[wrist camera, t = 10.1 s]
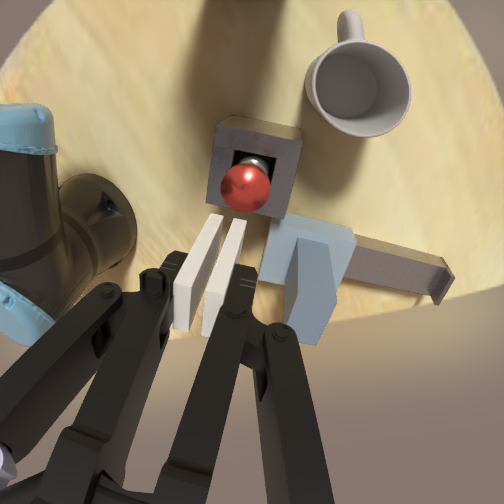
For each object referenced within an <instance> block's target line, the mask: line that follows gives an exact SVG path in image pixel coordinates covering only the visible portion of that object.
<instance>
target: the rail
mask: <svg viewBox="0 0 504 504" xmlns="http://www.w3.org/2000/svg"><path fill="white" fill-rule="evenodd" d="M271 219H272V217H271ZM270 225H271V221H270ZM270 225H269V229H270ZM268 233H269V230H268ZM354 235H355V238H356V242H357V244H356V247H355V249H354V252H353V254H352V256H351V259H350V261H349V264H348V266H347V269H346V271H345V273H344V276H343V277H344V278H349V279H354V280H358V281H363V282H368V283H372V284H377V285H382V286H386V287H391V288H396V289H400V290H405V291H410V292H414V293H419V294H424V295H429V296H431V298H432V300H433V302H434V305H439V304H440V303H441V301H442V299H443V298H444V296H445V295H446V293H447V291H448V290H449V288H450V286H451V284H452V283H453V281H454V279H455V276H454V275H453V273H452V272H451V270H450V268H449V267H448V265H447V264H446V262H445V261H444V259H443V258H442V257H438V256H435V255H431V254H428V253H424V252H420V251H417V250H413V249H409V248H406V247H402V246H398V245H394V244H391V243H387V242H383V241H379V240H375V239H371V238H368V237H364V236H360V235H356V234H354ZM267 238H268V234H267ZM267 238H266V242H267ZM266 242H265V246H266ZM265 246H264V250H265ZM263 254H264V252H263ZM262 259H263V258H262Z"/></svg>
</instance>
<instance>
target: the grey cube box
mask: <svg viewBox="0 0 504 504" xmlns="http://www.w3.org/2000/svg"><path fill="white" fill-rule="evenodd" d="M302 145H303V139H302V134H301V129H298V128H294V127H290V126H285V125H281V124H276V123H271V122H266V121H261V120H256V119H251V118H245V117H240V116H234V115H232V116H230V117H229V118H227V119H225V120H224V121H222V122H221V123H219V124H218V125H216V131H215V137H214V144H213V151H212V158H211V165H210V172H209V180H208V187H207V195H206V203H208V204H213V205H218V206H223V207H228V208H231V207H229V206H228V205H227V204H226V202H225V201H224V199H223V197H222V195H221V182H222V179H223V177H224V176H225V174H226V173H227V172H228V170H229V169H230V168H232V167H233V166H235V165H237V164H239V163H240V161H241V159H242V155H243V151H245V152H250V153H255V154H260V155H265V156H269V157H274V158H276V162H275V167H274V171H273V173H272V172H268V178H269V181H270V193H269V197H268V200H267V201H266V203H265V204H264V205H263V206H262V207H261V208H260V209H258V210H256V211H253V212H251V213H256V214H261V215H265V216H270V217H274V218H279V219H283V220H284V217H285V213H286V210H287V206H288V202H289V198H290V194H291V190H292V186H293V182H294V178H295V174H296V170H297V166H298V161H299V157H300V153H301V149H302Z"/></svg>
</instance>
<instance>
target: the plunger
mask: <svg viewBox="0 0 504 504" xmlns="http://www.w3.org/2000/svg"><path fill="white" fill-rule="evenodd" d="M270 164H271V159H270V157H269V156H265V155H260V154H255V153H250V152H246V153H245V154H244V156H243V158H242V159H241V161H240V163H239V164H237V165H235V166H233V167H232V168H230V169H229V170H228V172H227V173H226V174H225V176H224V177H223V179H222V182H221V195H222V197H223V199H224V201H225V202H226V204H227V205H228V206H229V207H231V208H232V209H234V210H236V211H239V212H253V211H256V210H258V209H260V208H261V207H262V206H263V205H264V204H265V203H266V201H267V200H268V197H269V193H270V181H269V178H268V172H269V168H270Z"/></svg>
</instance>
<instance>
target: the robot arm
mask: <svg viewBox="0 0 504 504" xmlns="http://www.w3.org/2000/svg"><path fill="white" fill-rule="evenodd" d="M57 152H58V147H57V145H56V144H55V133H54V120H53V115H52V113H51V111H50V110H49V109H48V108H47V107H45V106H43V105H41V104H33V103H14V104H0V332H1V333H3V334H4V335H5V336H7V337H8V338H10V339H11V340H13V341H15V342H16V343H18V344H21V345H23V346H26V347H30V348H29V349H28V350H27V351H26V352H25V353H24V354H23V355H22V356H21V357H20V358H19V359H18V360H17V361H16V362H15V363H14V364H13V365H12V366H11V367H10V368H9V369H8V370H7V371H6V372H5V373H4V374H3V375H2V376H1V377H0V504H205V503H206V499H207V495H208V491H209V487H210V483H211V479H212V475H213V471H214V467H215V463H216V459H217V455H218V451H219V446H220V443H221V439H222V434H223V430H224V426H225V422H226V418H227V414H228V410H229V406H230V401H231V398H232V393H233V389H234V385H235V381H236V377H237V372H238V368H239V364H240V363H241V364H243V365H245V366H247V367H249V368H251V369H253V378H254V388H255V397H256V406H257V414H258V423H259V433H260V442H261V451H262V460H263V468H264V476H265V486H266V493H267V502H268V504H335V503H334V498H333V493H332V488H331V483H330V479H329V474H328V469H327V464H326V460H325V455H324V451H323V446H322V441H321V438H320V432H319V428H318V423H317V419H316V415H315V410H314V406H313V401H312V397H311V393H310V388H309V384H308V380H307V376H306V371H305V367H304V364H303V359H302V355H301V351H300V346H299V342H298V338H297V335H296V332H295V330H293V329H292V328H291V327H290V326H288V325H286V324H283V323H272V324H270V325H268V326H267V325H265V324H263V323H261V322H260V321H258V320H257V319H256V318H255V317H254V315H253V313H252V304H253V298H254V293H255V287H256V282H257V276H258V274H257V272H256V269H255V268H254V267H250V266H245V265H240V264H238V263H239V260H240V255H241V249H242V244H243V239H244V234H245V229H246V223H247V221H245V220H241V219H236V218H234V219H233V222H232V224H231V227H230V229H229V232H228V234H227V237H226V239H225V242H224V244H223V247H222V250H221V252H220V255H219V257H218V252H219V245H220V238H221V231H222V225H223V218H224V216H222V215H217V214H212V213H211V214H210V216H209V218H208V219H207V221H206V223H205V225H204V227H203V228H202V230H201V232H200V234H199V236H198V238H197V239H196V241H195V243H194V245H193V247H192V249H191V250H190V252H189V254H188V253H184V252H179V251H173V252H172V253H170V254H169V255H167V257H166V259H165V260H164V262H163V263H162V265H161V267H160V268H159V269H157V268H151V269H146V270H144V271H142V272H141V273H140V274H139V277H140V291H138V292H122V290H121V288H120V286H118V285H117V284H115V283H111V282H105V283H102V284H99V285H98V286H96V287H95V288H94V289H93V290H91V291H90V292H89V293H88V294H87V295H86V296H85V297H84V298H82V299H81V300H80V301H79V302H78V303H77V304H76V305H75V306H73V304H74V303H75V302H76V300H77V299H78V298H79V296H80V295H81V294H82V292H83V291H84V290H85V288H86V287H87V286H88V284H89V283H90V282H91V281H92V279H93V278H94V277H95V276H97V275H99V274H101V273H103V272H104V271H106V270H107V269H110V268H113V267H115V266H116V265H118V264H119V263H121V262H122V261H123V260H124V259H125V258H126V256H127V255H128V254H129V253H130V251H131V250H132V248H133V246H134V244H135V240H136V235H137V226H136V220H135V216H134V213H133V210H132V208H131V206H130V204H129V202H128V200H127V199H126V197H125V196H124V194H123V193H122V192H121V191H120V190H119V189H118V188H117V187H116V186H115V185H114V184H113V183H111V182H110V181H108V180H107V179H105V178H103V177H101V176H98V175H94V174H80V175H77V176H75V177H73V178H71V179H70V180H68V181H66V182H65V183H63V184H62V185H61V186H60V187H58V178H57V164H56V153H57ZM217 257H218V260H217V262H216V259H217ZM215 262H216V265H215V268H214V270H213V273H212V275H211V278H210V281H209V283H208V286H207V289H206V293H205V302H204V311H203V320H202V330H201V336H205V337H209V340H208V343H207V346H206V349H205V352H204V354H203V357H202V360H201V363H200V366H199V369H198V372H197V375H196V378H195V380H194V383H193V386H192V389H191V392H190V395H189V398H188V401H187V404H186V407H185V410H184V412H183V416H182V418H181V421H180V424H179V427H178V430H177V433H176V436H175V439H174V442H173V445H172V448H171V451H170V454H169V457H168V459H167V461H166V462H165V463H164V465H163V467H162V469H161V472H160V475H159V478H158V481H157V484H156V487H155V490H154V493H153V494H152V493H142V492H132V491H127V490H125V489H123V488H122V486H123V482H124V478H125V465H126V461H127V457H128V454H129V451H130V448H131V445H132V442H133V438H134V435H135V432H136V429H137V426H138V423H139V420H140V417H141V414H142V411H143V408H144V405H145V403H146V400H147V397H148V394H149V391H150V388H151V385H152V382H153V379H154V377H155V374H156V371H157V368H158V366H159V363H160V360H161V357H162V354H163V352H164V349H165V346H166V344H167V341H168V338H169V333H170V330H169V328H170V326H171V324H172V322H173V329H177V330H181V331H185V332H189V330H190V327H191V324H192V322H193V319H194V316H195V314H196V311H197V308H198V306H199V303H200V300H201V298H202V295H203V293H204V290H205V287H206V285H207V282H208V280H209V277H210V274H211V272H212V269H213V267H214V264H215ZM72 306H73V307H72ZM71 307H72V308H71ZM97 370H98V371H97ZM96 372H97V373H96ZM95 373H96V375H95V377H94V379H93V381H92V383H91V385H90V388H89V390H88V392H87V394H86V396H85V398H84V400H83V403H82V405H81V407H80V409H79V412H78V414H77V416H76V418H75V421H74V423H73V424H72V425H71V426H69V427H66V428H64V429H63V430H62V432H61V434H60V435H59V438H58V440H57V442H56V445H55V447H54V450H53V452H52V454H51V457H50V459H49V462H48V465H47V467H46V470H44V471H42V472H40V473H38V474H36V475H33V476H31V477H29V478H27V479H24V480H22V481H20V482H18V483H15V484H13V485H11V486H8V487H7V484H8V482H9V481H10V480H11V479H15V478H16V477H17V470H16V467H15V464H16V463H18V462H19V461H20V460H22V459H23V458H24V457H25V456H26V455H28V454H29V453H30V451H31V450H32V449H33V448H34V447H35V446H36V444H37V443H38V442H39V441H40V439H41V438H42V437H43V436H44V434H45V433H46V432H47V431H48V429H49V428H50V427H51V426H52V424H53V423H54V422H55V421H56V420H57V418H58V417H59V416H60V415H61V413H62V412H63V411H64V410H65V409H66V407H67V406H68V405H69V404H70V402H71V401H72V400H73V399H74V398H75V396H76V395H77V394H78V393H79V392H80V390H81V389H82V388H83V387H84V386H85V385H86V383H87V382H88V381H89V380H90V379H91V377H92V376H93V375H94V374H95Z"/></svg>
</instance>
